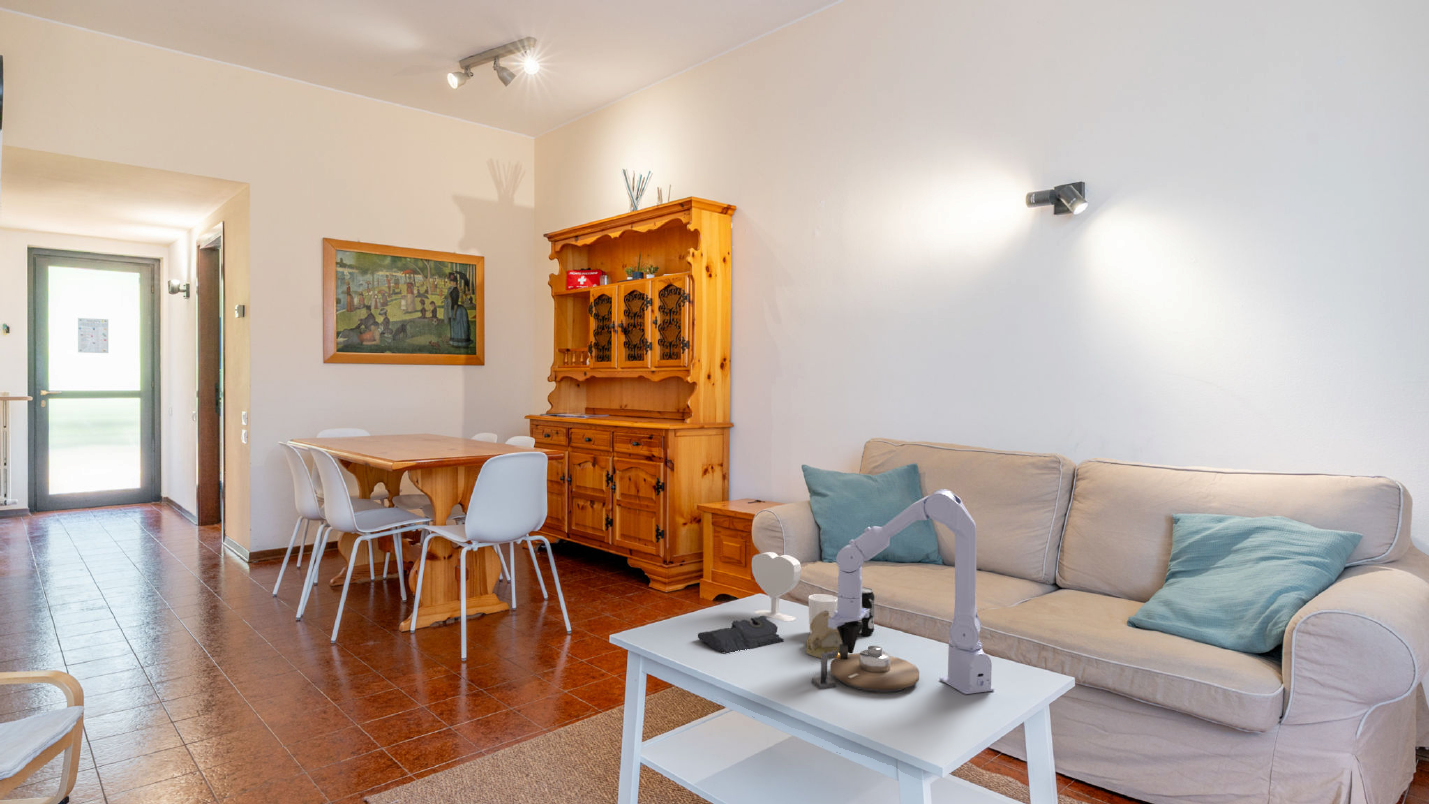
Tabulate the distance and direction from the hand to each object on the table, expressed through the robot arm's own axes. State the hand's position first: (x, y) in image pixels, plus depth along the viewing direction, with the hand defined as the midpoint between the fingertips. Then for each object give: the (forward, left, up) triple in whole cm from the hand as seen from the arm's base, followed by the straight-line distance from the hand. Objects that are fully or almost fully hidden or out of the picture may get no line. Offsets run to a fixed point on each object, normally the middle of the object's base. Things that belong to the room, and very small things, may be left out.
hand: (848, 652), depth 186 cm
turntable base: (-9, -2, -3) cm, 10 cm away
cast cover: (-9, -2, -1) cm, 9 cm away
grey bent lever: (-9, +11, -3) cm, 15 cm away
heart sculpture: (+44, -1, -4) cm, 44 cm away
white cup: (+24, -6, -4) cm, 25 cm away
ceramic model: (+13, -1, -4) cm, 13 cm away
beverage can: (+22, -17, -4) cm, 28 cm away
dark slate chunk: (+26, +18, -4) cm, 32 cm away
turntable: (-9, -2, -2) cm, 9 cm away
